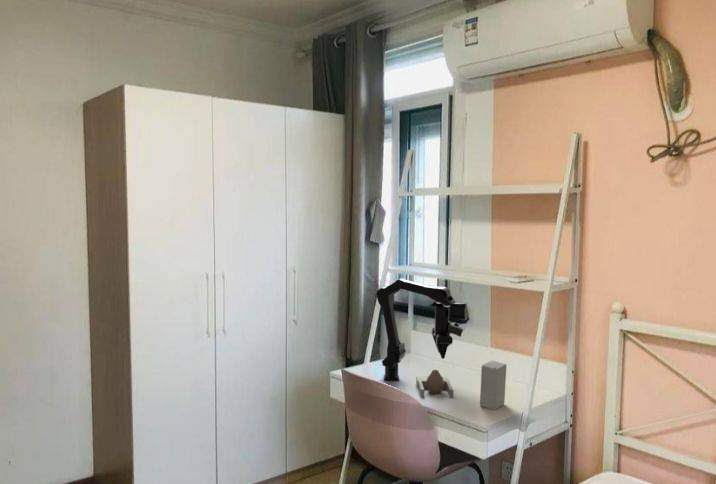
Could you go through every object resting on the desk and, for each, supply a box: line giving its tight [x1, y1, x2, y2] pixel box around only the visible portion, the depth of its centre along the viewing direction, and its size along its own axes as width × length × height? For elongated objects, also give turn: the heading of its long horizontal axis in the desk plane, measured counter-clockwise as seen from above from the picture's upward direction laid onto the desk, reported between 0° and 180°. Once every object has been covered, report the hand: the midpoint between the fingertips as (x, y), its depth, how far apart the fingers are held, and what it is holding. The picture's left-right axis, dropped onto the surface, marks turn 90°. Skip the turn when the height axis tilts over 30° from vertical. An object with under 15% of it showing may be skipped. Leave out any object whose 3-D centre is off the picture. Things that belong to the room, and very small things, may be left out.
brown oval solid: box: [426, 369, 444, 395], centre depth 226 cm, size 7×7×9 cm
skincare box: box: [479, 360, 507, 411], centre depth 211 cm, size 8×7×16 cm
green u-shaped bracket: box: [415, 376, 454, 398], centre depth 229 cm, size 17×13×3 cm
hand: (441, 355), depth 235 cm, fingers open, 9 cm apart
